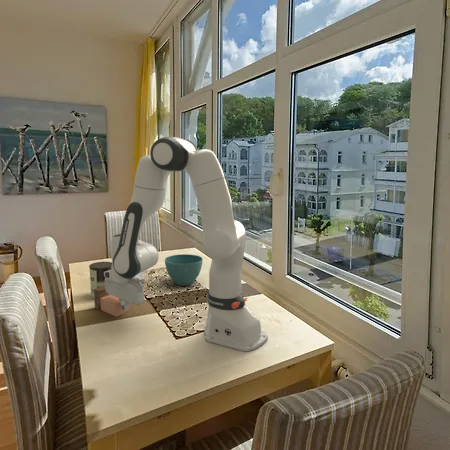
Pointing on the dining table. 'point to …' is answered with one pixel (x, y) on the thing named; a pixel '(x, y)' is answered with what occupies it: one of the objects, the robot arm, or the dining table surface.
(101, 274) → the coffee can
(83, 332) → the dining table surface
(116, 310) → the terracotta block
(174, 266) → the plant pot
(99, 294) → the walnut board
